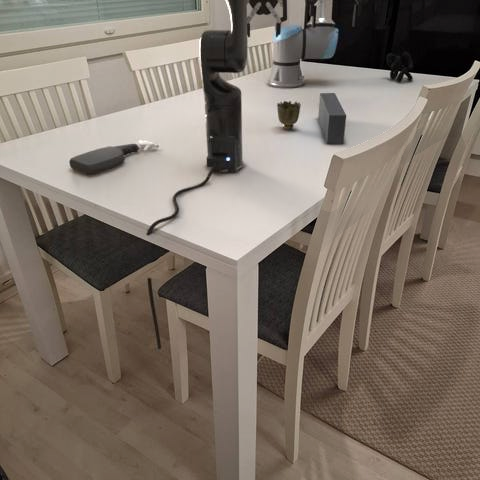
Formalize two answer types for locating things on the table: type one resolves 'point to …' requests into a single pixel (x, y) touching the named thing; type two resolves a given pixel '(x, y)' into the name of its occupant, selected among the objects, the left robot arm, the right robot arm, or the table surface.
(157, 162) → the table surface
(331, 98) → the bar
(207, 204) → the table surface
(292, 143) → the table surface
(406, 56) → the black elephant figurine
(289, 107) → the cup
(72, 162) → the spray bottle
